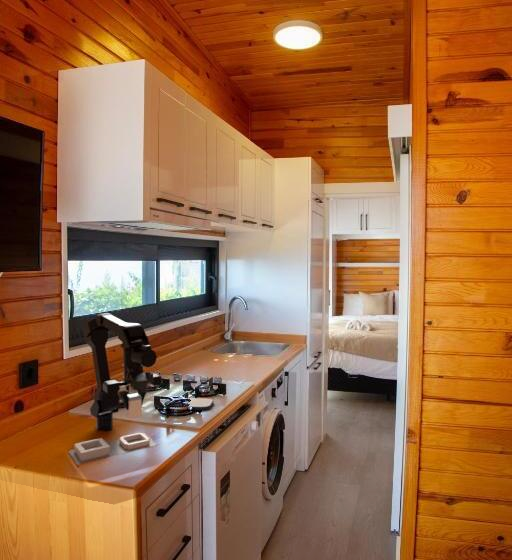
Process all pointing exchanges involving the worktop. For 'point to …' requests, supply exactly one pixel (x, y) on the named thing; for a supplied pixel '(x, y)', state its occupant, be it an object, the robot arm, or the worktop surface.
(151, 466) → the worktop surface
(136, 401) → the plug
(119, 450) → the panel
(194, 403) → the external hard drive
